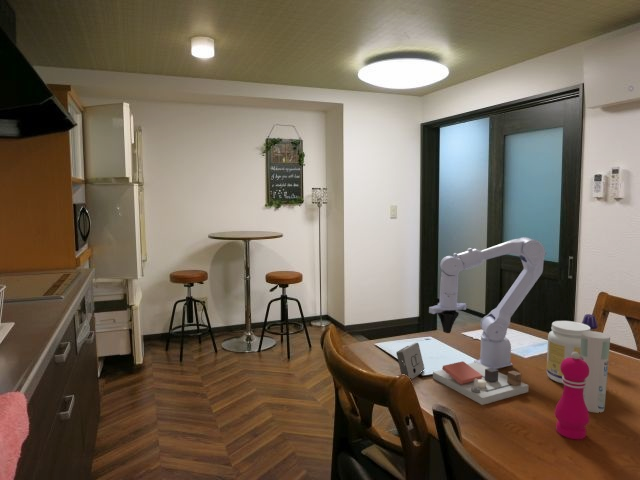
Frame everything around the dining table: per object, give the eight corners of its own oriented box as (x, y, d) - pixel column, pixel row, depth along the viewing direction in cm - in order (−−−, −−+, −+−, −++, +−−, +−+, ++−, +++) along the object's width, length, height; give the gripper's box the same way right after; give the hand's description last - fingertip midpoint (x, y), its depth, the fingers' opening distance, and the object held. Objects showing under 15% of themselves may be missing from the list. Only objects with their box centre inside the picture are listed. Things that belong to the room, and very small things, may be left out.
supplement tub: (588, 374, 145) (592, 322, 143) (593, 390, 134) (596, 333, 132) (545, 368, 150) (548, 317, 148) (546, 382, 139) (549, 328, 137)
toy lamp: (594, 367, 151) (597, 317, 149) (577, 364, 154) (581, 315, 152) (595, 363, 155) (599, 314, 153) (580, 360, 157) (583, 312, 156)
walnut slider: (512, 381, 135) (513, 370, 135) (521, 384, 132) (521, 373, 132) (507, 382, 134) (507, 372, 134) (515, 386, 131) (515, 375, 131)
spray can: (604, 415, 119) (610, 340, 117) (576, 409, 122) (580, 335, 120) (605, 405, 124) (610, 333, 122) (577, 399, 128) (582, 329, 126)
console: (475, 368, 150) (476, 351, 150) (528, 391, 133) (529, 373, 132) (432, 378, 142) (433, 360, 142) (482, 405, 124) (483, 384, 124)
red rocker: (462, 364, 142) (463, 361, 141) (481, 379, 135) (482, 375, 135) (442, 369, 138) (442, 365, 138) (460, 384, 131) (461, 380, 131)
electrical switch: (411, 380, 141) (409, 350, 140) (396, 377, 144) (394, 348, 143) (425, 371, 148) (423, 342, 147) (410, 368, 151) (408, 341, 151)
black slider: (491, 377, 137) (492, 367, 137) (498, 380, 135) (498, 370, 135) (484, 379, 136) (485, 369, 136) (491, 382, 134) (491, 372, 134)
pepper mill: (547, 425, 114) (552, 347, 111) (575, 424, 114) (580, 346, 112) (565, 441, 106) (570, 358, 104) (595, 440, 107) (600, 357, 105)
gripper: (456, 288, 159) (454, 326, 161) (423, 291, 153) (421, 331, 154) (471, 292, 153) (469, 332, 155) (438, 296, 147) (436, 337, 148)
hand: (446, 332), depth 154 cm, fingers closed
